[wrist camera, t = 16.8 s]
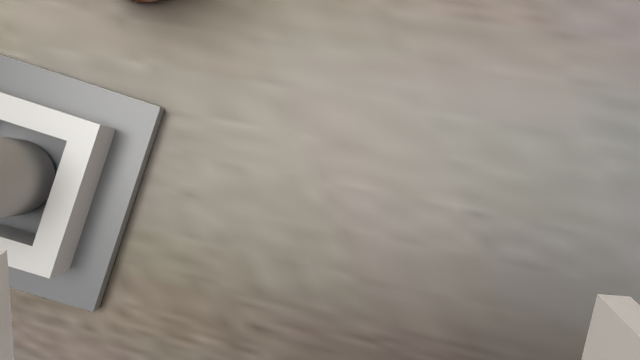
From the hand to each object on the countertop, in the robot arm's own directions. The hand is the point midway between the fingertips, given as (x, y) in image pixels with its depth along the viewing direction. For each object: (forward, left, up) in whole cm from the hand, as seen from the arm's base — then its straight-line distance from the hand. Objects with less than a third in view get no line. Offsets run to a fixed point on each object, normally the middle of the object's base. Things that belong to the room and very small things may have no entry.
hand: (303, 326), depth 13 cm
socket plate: (+17, +2, -28) cm, 33 cm away
